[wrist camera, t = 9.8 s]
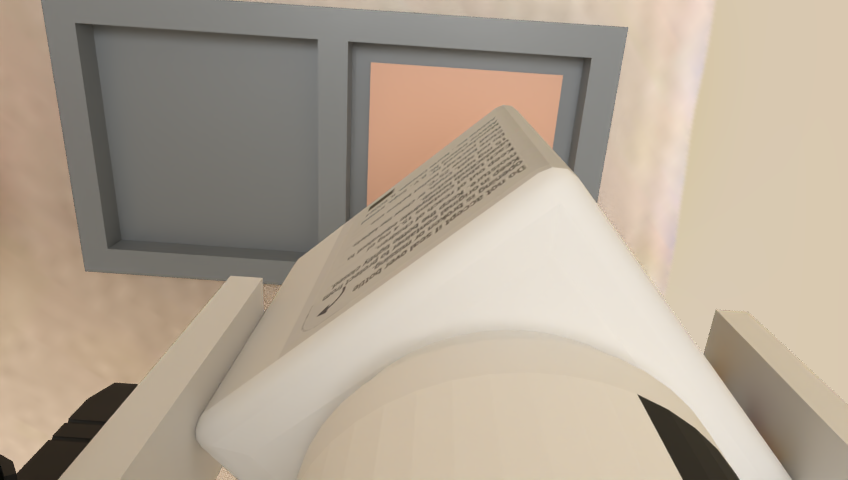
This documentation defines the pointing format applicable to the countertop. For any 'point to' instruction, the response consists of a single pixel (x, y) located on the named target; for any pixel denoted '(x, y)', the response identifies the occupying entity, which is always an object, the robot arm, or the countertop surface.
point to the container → (478, 343)
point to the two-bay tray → (291, 118)
